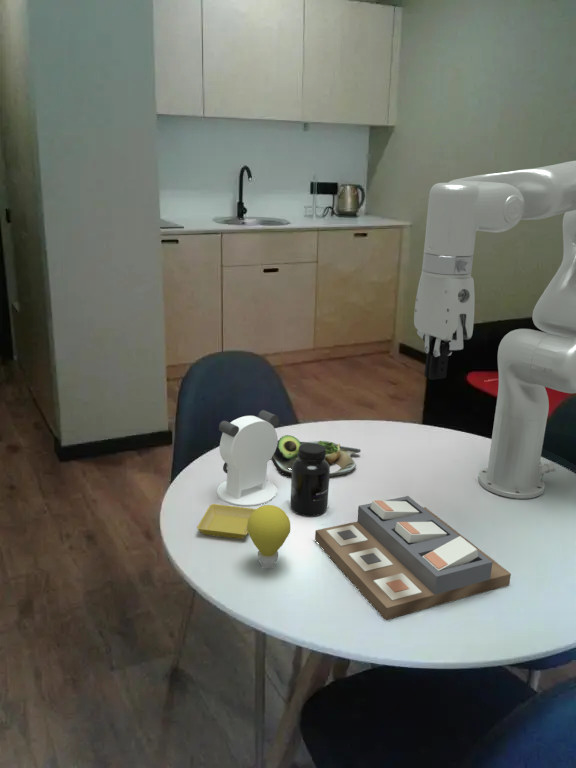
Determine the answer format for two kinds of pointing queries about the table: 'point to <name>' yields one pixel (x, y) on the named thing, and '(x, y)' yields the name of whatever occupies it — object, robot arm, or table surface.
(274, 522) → the light bulb
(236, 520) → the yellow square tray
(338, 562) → the board
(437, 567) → the rocker
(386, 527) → the switch housing
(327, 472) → the supplement bottle
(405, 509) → the rocker
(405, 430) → the table surface
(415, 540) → the rocker
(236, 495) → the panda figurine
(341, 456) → the salad plate
